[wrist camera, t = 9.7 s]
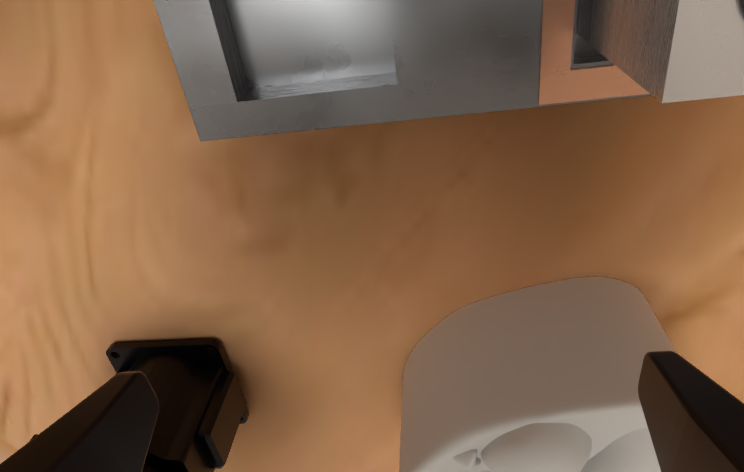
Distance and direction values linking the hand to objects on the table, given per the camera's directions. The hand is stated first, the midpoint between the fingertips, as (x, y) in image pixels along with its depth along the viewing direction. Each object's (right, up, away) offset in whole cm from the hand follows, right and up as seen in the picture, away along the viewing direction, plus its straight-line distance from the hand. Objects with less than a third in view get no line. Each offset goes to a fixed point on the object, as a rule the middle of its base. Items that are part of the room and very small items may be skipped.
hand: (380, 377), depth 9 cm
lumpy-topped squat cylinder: (+8, -4, +18) cm, 20 cm away
